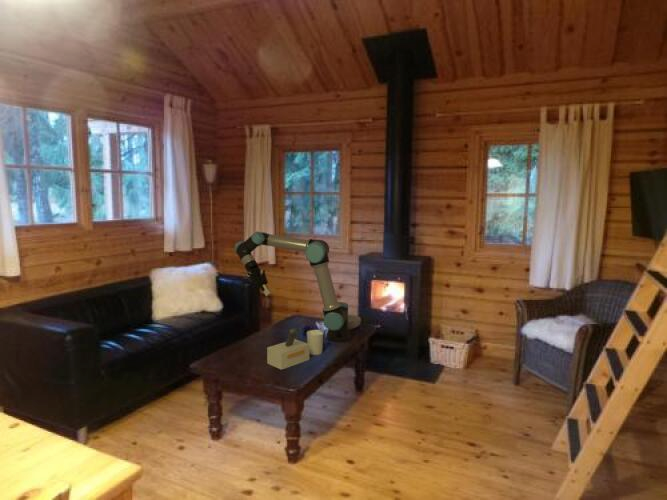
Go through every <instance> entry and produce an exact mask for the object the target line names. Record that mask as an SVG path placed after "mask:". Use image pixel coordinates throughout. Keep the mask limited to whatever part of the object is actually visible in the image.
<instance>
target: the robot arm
mask: <svg viewBox="0 0 667 500" xmlns="http://www.w3.org/2000/svg"><path fill="white" fill-rule="evenodd" d="M260 246H266V247H267V246H268V247H275V248H281V249H285V250H292V251H298V252H304V254H305V258H306V259H307V260H308V262H309V265H310V267H311V268H313V270H314V274H315V278H316V281H317V285H318V289H319V291H320V293H319V294H320V297H321V299H322V304H323V308H322V309H321V310H322V312H323V324H324V327H326V329H328V330H327V333H326V339H327V340H328V341H331V342H335V343H338V342H339V343H340V342H341V343H342V342H347V341H349V340H350V339H351V333H350V330H349V329H348V315H349V305H348V303H346V302H343V301H341V302H340V301H338V298H337V294H336V291H335V287H334V283H333V279H332V275H331V273H330V269H329V263H330V258H329V253H330V246H329V244H328V243H327V242H326V241H325V240H323V239H313V238H309V239H303V238H297V237H290V236H284V235H278V234H270V233H267V232H263V231H262V232H260V231H259V230H258V231H255V232H254V233H252V234H251V235H250V236H249V237H248V238H247V239H246V240H245V241H244V240H240V241H237V242H236V243H235V244H234V248H233V249H234V251H235V253H236V255H237V256H238V258H239V260H240V261H241V263H242V264H243V266H244V268H245V270H246V272H247V273H246V275H245V277H247V278H248V279H249V280H250V282H252V283H253V284H254V286H255V287H256V288H258V289H260V290H261V291H262V292H263V294H264V295H265V297H268V296H270V294H271V292H270V290H269V288H268V283H269V282H268V279H267V276H266V271H265V270H264V269H263V270H262V269H261V268H260V267H259V264H258V262H257V261H256V258H255V257H254V255H253V254H252V252H254V251H255V249H257V248H258V247H260Z"/></svg>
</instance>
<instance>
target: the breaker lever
mask: <svg viewBox="0 0 667 500" xmlns="http://www.w3.org/2000/svg"><path fill="white" fill-rule="evenodd" d="M299 332H300V329H299V328H298V327H296V328H292V329H289V330H288V336H287V339H286V341H285V342H286V344H285V345H286V346H287V347H288V346H291V345H293V342H294V339H296V336H297V334H298V333H299Z"/></svg>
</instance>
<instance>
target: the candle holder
mask: <svg viewBox="0 0 667 500" xmlns="http://www.w3.org/2000/svg"><path fill="white" fill-rule="evenodd" d="M306 341H307V342H306V343H307V344H309V355H312V356H318V355H321V354H322V353H323V347H324V346H323V345H324V331H323V330H320V329H311V330H307V331H306Z"/></svg>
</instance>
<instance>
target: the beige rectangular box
mask: <svg viewBox="0 0 667 500" xmlns="http://www.w3.org/2000/svg"><path fill="white" fill-rule="evenodd" d="M285 344H286V341H284V342H281V343H277V344H275V345H271V346H268V347H266V350H267V351H266V353H267V354H266V356H267V357H266V363H267V364H268V365H270V366H272V367H275V368H277V369H279V370H284V369H288V368H290V367H293V366H296V365H298V364H302V363H304V362H306V361H309V360H310V354H309V344H307V342H304V341H302V340H298V339H296V338H295V339H294V342H293V345H291V346H288V347H287V346H286V345H285Z"/></svg>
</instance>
